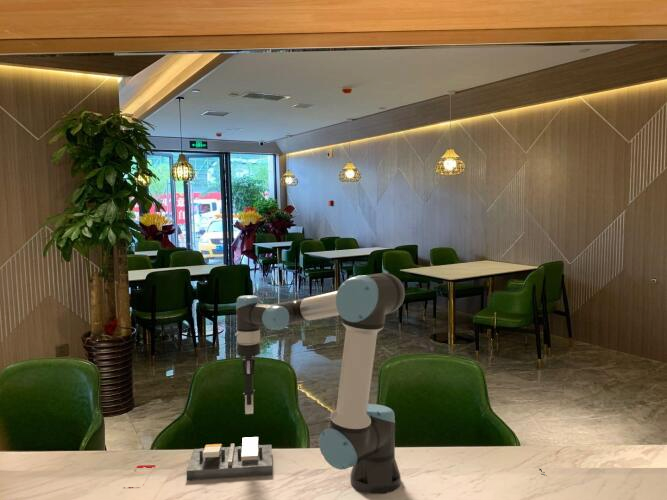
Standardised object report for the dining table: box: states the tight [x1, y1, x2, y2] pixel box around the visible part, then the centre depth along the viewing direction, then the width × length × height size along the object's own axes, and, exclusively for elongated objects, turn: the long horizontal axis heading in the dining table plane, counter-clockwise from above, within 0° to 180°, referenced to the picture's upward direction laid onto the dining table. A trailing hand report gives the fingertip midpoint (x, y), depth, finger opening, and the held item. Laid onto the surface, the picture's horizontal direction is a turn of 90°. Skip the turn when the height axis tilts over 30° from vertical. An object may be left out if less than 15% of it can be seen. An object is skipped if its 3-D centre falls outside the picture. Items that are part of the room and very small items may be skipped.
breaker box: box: [186, 443, 273, 481], centre depth 172 cm, size 16×26×6 cm, turn 97°
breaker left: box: [203, 443, 223, 458], centre depth 171 cm, size 10×5×2 cm, turn 7°
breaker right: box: [241, 436, 259, 461], centre depth 173 cm, size 10×5×2 cm, turn 7°
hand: (249, 413), depth 176 cm, fingers closed
